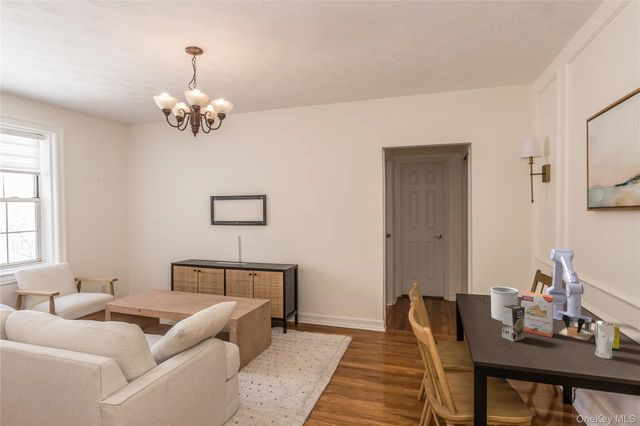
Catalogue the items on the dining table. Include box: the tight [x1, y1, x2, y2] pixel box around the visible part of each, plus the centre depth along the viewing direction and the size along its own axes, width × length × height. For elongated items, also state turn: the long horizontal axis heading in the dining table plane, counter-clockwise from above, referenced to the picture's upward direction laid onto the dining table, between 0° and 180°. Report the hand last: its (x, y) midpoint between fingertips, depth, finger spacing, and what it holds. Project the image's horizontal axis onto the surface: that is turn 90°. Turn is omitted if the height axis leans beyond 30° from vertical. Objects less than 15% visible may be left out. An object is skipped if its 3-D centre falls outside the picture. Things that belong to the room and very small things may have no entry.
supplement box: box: [612, 324, 620, 351], centre depth 161 cm, size 6×6×11 cm
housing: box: [570, 317, 592, 332], centre depth 183 cm, size 9×4×5 cm, turn 39°
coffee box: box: [501, 304, 525, 342], centre depth 171 cm, size 9×6×16 cm
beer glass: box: [594, 320, 615, 360], centre depth 151 cm, size 7×7×15 cm
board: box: [557, 322, 595, 342], centre depth 183 cm, size 12×34×1 cm, turn 129°
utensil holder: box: [490, 285, 519, 322], centre depth 201 cm, size 15×15×18 cm
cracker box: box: [520, 290, 554, 338], centre depth 178 cm, size 14×6×21 cm, turn 50°
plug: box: [567, 326, 580, 337], centre depth 178 cm, size 11×4×3 cm, turn 129°
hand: (573, 331), depth 176 cm, fingers closed on plug, 4 cm apart
